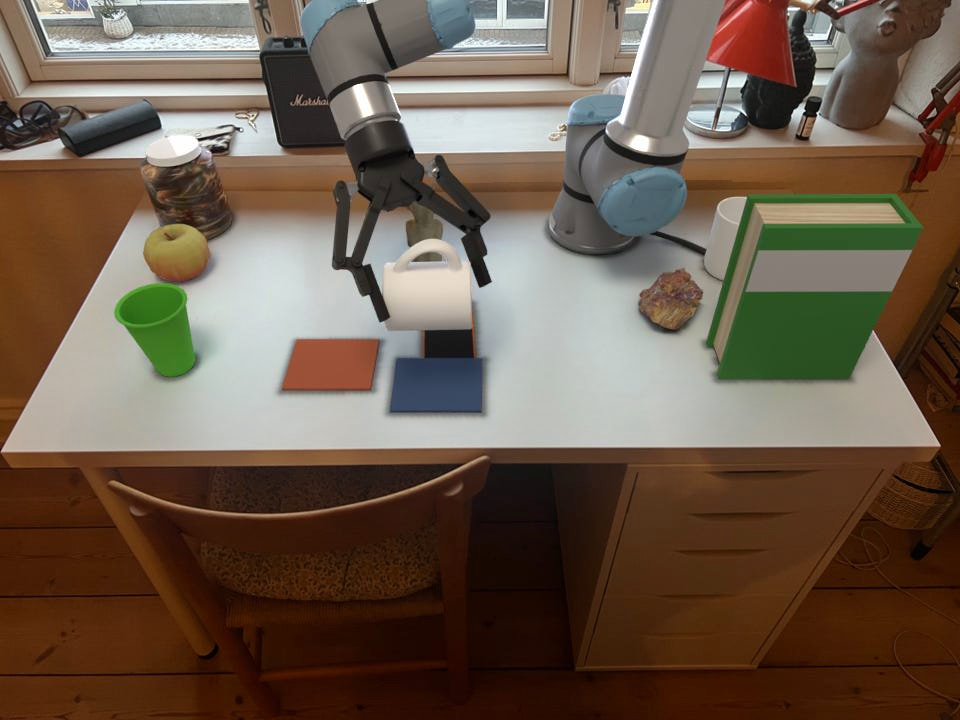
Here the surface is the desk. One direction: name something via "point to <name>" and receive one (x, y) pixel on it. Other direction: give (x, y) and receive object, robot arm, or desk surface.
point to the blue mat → (437, 385)
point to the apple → (176, 252)
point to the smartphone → (449, 343)
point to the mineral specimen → (671, 299)
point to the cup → (159, 326)
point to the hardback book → (808, 283)
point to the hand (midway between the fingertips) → (436, 302)
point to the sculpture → (423, 230)
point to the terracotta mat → (331, 364)
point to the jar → (185, 185)
